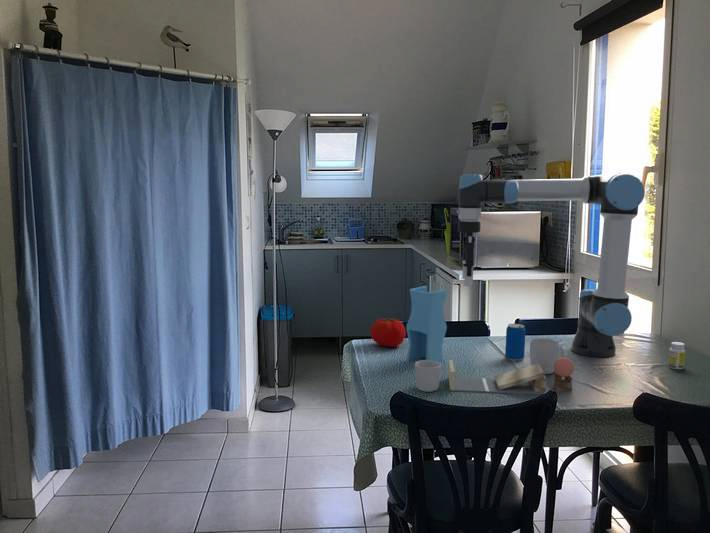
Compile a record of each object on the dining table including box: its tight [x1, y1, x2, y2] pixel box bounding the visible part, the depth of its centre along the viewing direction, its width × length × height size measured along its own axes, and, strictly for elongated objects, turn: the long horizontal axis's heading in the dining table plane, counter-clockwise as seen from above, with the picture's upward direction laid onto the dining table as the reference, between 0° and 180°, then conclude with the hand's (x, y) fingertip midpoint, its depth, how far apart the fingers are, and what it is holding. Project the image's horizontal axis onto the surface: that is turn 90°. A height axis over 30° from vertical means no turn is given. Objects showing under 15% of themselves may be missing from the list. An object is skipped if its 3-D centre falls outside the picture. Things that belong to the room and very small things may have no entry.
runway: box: [447, 359, 551, 396], centre depth 195 cm, size 30×12×6 cm, turn 84°
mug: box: [529, 338, 565, 375], centre depth 211 cm, size 13×9×10 cm
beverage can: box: [504, 323, 527, 362], centre depth 223 cm, size 6×6×12 cm
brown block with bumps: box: [553, 372, 573, 392], centre depth 193 cm, size 5×5×4 cm
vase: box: [405, 285, 448, 363], centre depth 219 cm, size 10×10×25 cm
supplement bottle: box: [668, 341, 686, 370], centre depth 215 cm, size 5×5×8 cm
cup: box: [414, 359, 442, 393], centre depth 193 cm, size 11×8×8 cm
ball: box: [553, 356, 575, 377], centre depth 193 cm, size 6×6×6 cm
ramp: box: [494, 363, 547, 392], centre depth 194 cm, size 14×9×6 cm, turn 84°
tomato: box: [370, 317, 407, 348], centre depth 239 cm, size 13×12×11 cm
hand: (467, 282), depth 220 cm, fingers open, 13 cm apart
